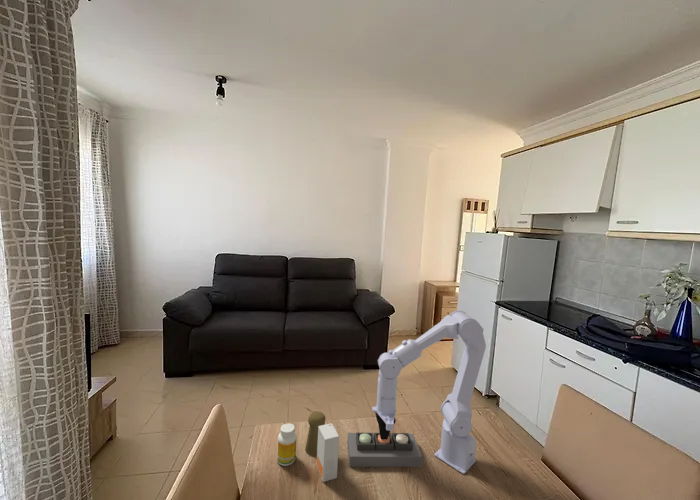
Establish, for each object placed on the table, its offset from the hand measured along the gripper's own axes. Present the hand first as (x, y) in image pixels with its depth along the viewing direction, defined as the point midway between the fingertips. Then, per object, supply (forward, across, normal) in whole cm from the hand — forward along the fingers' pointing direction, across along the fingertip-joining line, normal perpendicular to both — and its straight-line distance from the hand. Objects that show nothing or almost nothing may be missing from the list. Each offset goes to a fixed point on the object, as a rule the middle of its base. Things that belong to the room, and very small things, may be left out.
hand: (383, 437), depth 91 cm
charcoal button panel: (+5, 0, 0) cm, 5 cm away
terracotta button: (+2, 0, 0) cm, 2 cm away
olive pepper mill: (+5, -2, -20) cm, 21 cm away
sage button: (+1, 0, -6) cm, 6 cm away
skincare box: (+5, +7, -17) cm, 19 cm away
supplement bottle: (+5, +2, -29) cm, 29 cm away
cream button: (+1, 0, +6) cm, 6 cm away
